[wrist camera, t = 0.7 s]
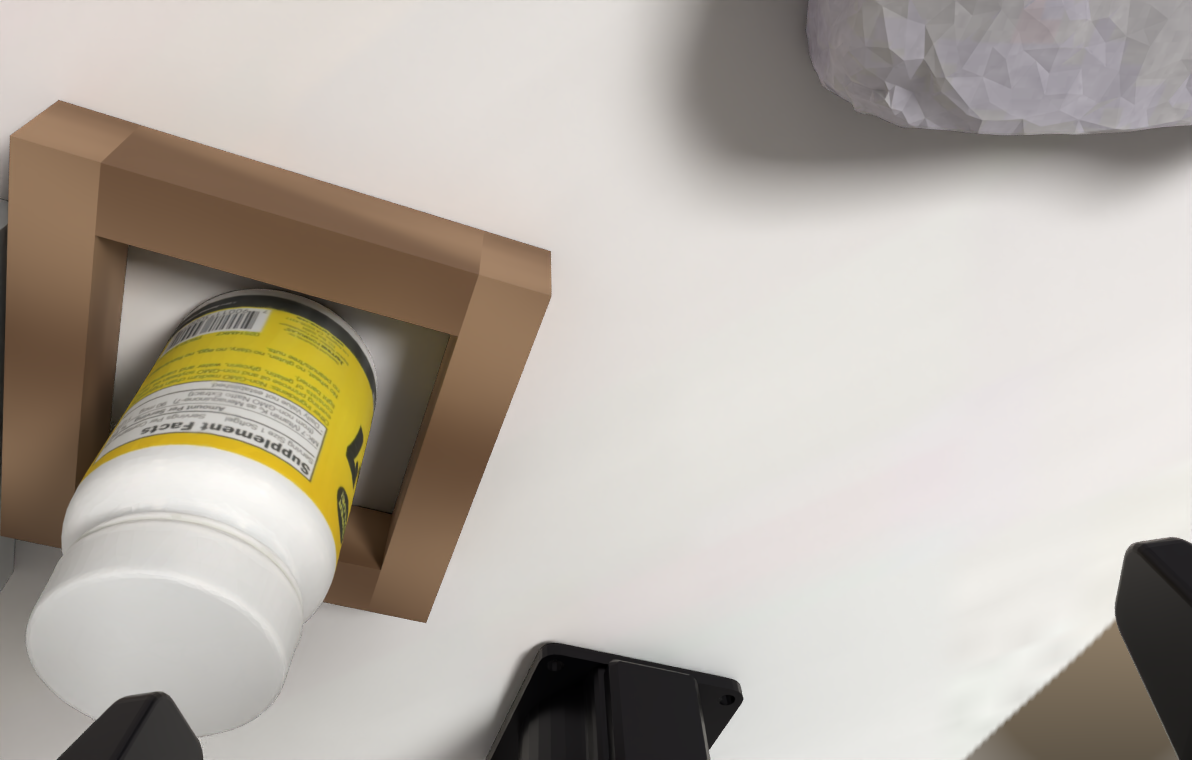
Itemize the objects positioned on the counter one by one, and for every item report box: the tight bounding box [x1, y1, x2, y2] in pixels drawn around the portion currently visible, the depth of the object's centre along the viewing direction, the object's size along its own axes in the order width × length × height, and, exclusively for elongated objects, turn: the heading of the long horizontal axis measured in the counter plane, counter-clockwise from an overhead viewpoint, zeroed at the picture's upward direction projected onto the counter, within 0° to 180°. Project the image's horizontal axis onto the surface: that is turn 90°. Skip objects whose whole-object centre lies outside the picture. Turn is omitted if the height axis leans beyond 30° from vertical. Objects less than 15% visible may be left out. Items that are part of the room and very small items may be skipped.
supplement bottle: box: [26, 289, 377, 737], centre depth 18 cm, size 5×5×8 cm
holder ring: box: [0, 100, 551, 623], centre depth 21 cm, size 10×10×2 cm
